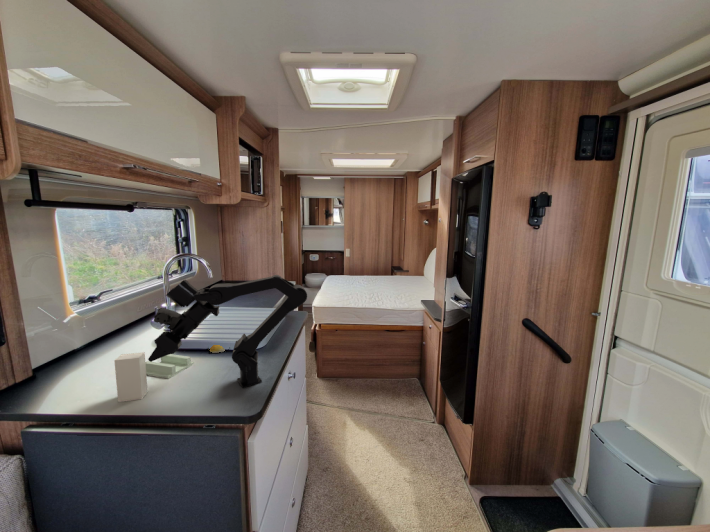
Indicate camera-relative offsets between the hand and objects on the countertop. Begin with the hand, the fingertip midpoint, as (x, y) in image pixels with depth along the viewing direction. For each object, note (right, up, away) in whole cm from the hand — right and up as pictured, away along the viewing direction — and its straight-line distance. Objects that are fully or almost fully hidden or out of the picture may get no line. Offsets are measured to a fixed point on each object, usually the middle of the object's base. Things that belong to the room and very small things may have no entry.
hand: (155, 353), depth 85 cm
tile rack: (-7, -11, +17) cm, 21 cm away
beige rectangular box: (-7, -13, 0) cm, 15 cm away
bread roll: (+2, -9, +35) cm, 36 cm away
